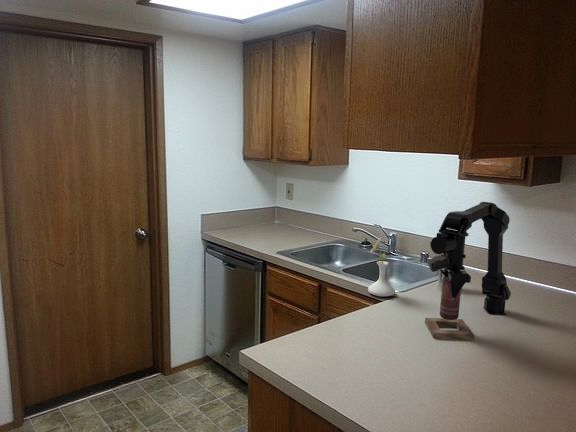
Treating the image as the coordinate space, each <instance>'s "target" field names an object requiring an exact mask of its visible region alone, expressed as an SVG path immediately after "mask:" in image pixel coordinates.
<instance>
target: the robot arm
mask: <svg viewBox="0 0 576 432" xmlns="http://www.w3.org/2000/svg"><path fill="white" fill-rule="evenodd" d="M479 220H481V221H482V222H483V228H484V230H485V232H486V234H487V236H488V237H487V238H488V239H487V240H488V241H487V243H488V244H487V245H488V246H487V272H486V273H485V275H484V276H482V278H481V291H482V292H481V293H482V295H484V296H485V298H484V299H483V300H484V301H483V310H485V311H486V313H488V315H507V312H506V311H505V308H506V301H509V300H510V297H511V294H512V292H511V290H510V288H509V287H508V283H507V281H508V280H507V278H506V276H505V274H504V273H503V249H504V248H503V247H504V245H503V243H504V234H505V233H506V231H507V230H508V229H509V223H510V220H511V219H510V216H509V214H507V212H506V211H504V210H503V209H502V208H499V206H498V205H496V204H495V203H494V202H489V201H480V202H479V203H478V204H476V205H474V206H471V207H470V208H468V209H465V210H461V211H457V210H456V211H450V212H448V213H447V214H446V215H445V217H444V219H443V221H442V223H441V226H440V228H438V232H437V233H436V236H434V237H433V238H432V239H431V241H430V243H429V244H430V246H429V247H430V249H431V251H432V252H433V254H436V255H440V256H436V257H433V258H429V259H427V264H428V268H429V270H430V271H431V272H432V273H435V272H437V271H439V270H440V269H442V270H440V271H441V272H442V273H443V275H444V276H448V278H447V279H448V280H449V281H450V282H451V292H452V298H456V296H457V294H458V293H459V291H460V290H461V291H462V289H461V288H463V287H464V285H466V283H468V284H470V283H471V282H472V276H471V275H470V274H469V273H468V272H467V271H466V270H465V266H464V259H466V254H465V245H466V237H469V236H470V235H469V233H468V232H467V231H468V230H469V229H471V228H472V226H473V223H474V222H477V221H479ZM442 254H443V256H441V255H442Z"/></svg>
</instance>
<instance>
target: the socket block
mask: <svg viewBox="0 0 576 432" xmlns="http://www.w3.org/2000/svg"><path fill="white" fill-rule="evenodd" d="M424 324H425V326H426V328H427V330H428V331H429V333H430V335H431V336H432V339H438V340H439V339H441V340H457V341H458V340H459V341H460V340H462V341H474V339H475V334H474V332H473V331H472V330H471V329H470V327H469V326H468V325H467V324H466V322H465V320H464V319H462V318H457V319H456V320H447V319H444V318H442V317H441V318H439V317H425V318H424ZM440 327H441V328H442V327H443V328H456V329H457V330H454V329H451V330H450V329H441V328H440Z"/></svg>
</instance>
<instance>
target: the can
mask: <svg viewBox="0 0 576 432" xmlns="http://www.w3.org/2000/svg"><path fill="white" fill-rule="evenodd" d="M447 278H448V276H444V278H443V279H442V291H440V292H441V293H440V294H441V295H440V305H439V316H440V317H441V318H444V319H447V320H456V319H459V315H460V305H461V304H460V303H461V293H462V288H463V287H462V288H461V290H460V291H459V293H458V294H457V296H456V298H452V292H451V282H450V281H449V280H448V279H447Z"/></svg>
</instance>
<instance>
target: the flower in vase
mask: <svg viewBox="0 0 576 432" xmlns="http://www.w3.org/2000/svg"><path fill="white" fill-rule="evenodd" d="M381 241H382V238H381V237H379V238H378V239H377V242H376V243H375V244H374V245H373V247H372V248H371V249H370V251H369V253H370V254H372V253H374V252H375V250H377V249H378V250H379V253H380V257H378V259H377V260H376V265H378V268H379V269H378V270H379V277H378V280H377V281H375V282H374V283H372V284H370V285H369V286H368V288H367V291H368V293H369V294H372V295H374V296H376V297H390V296H393V295H394V294H395V293H396V290H395V288H394V287H393V285H391V284H390V283H389V282H388V281H387V280H386V271H387V267H388V266H389V265H390V262H388V261H386V260H387V256H386V253H385V252H384V253H383V254H382V252H381V251H382V250H381V249H380V246H379V244H380V243H381Z"/></svg>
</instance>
